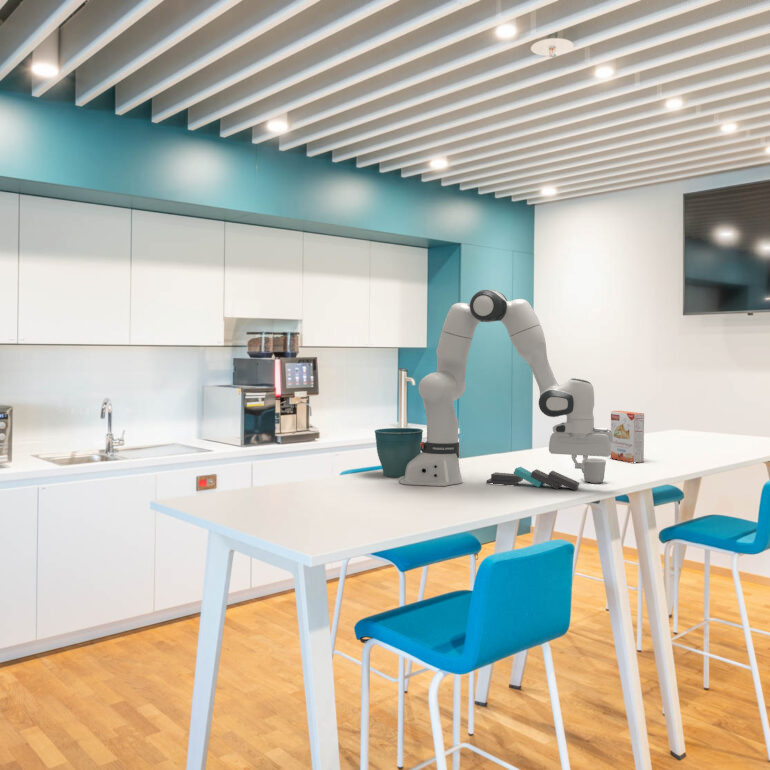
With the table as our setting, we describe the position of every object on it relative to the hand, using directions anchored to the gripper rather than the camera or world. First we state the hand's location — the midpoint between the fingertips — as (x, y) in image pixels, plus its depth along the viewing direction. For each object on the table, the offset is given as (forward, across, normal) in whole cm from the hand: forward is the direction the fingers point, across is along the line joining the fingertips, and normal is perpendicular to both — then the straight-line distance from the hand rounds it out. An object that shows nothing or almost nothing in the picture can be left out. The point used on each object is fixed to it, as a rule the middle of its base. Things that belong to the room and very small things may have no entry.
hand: (579, 468), depth 248 cm
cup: (+7, -2, -18) cm, 19 cm away
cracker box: (+7, -8, -75) cm, 76 cm away
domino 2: (+5, +20, -1) cm, 21 cm away
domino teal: (+6, +12, 0) cm, 14 cm away
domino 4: (+6, 0, 0) cm, 6 cm away
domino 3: (+6, +6, 0) cm, 9 cm away
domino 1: (+7, +21, 0) cm, 22 cm away
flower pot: (+7, +66, -2) cm, 67 cm away
